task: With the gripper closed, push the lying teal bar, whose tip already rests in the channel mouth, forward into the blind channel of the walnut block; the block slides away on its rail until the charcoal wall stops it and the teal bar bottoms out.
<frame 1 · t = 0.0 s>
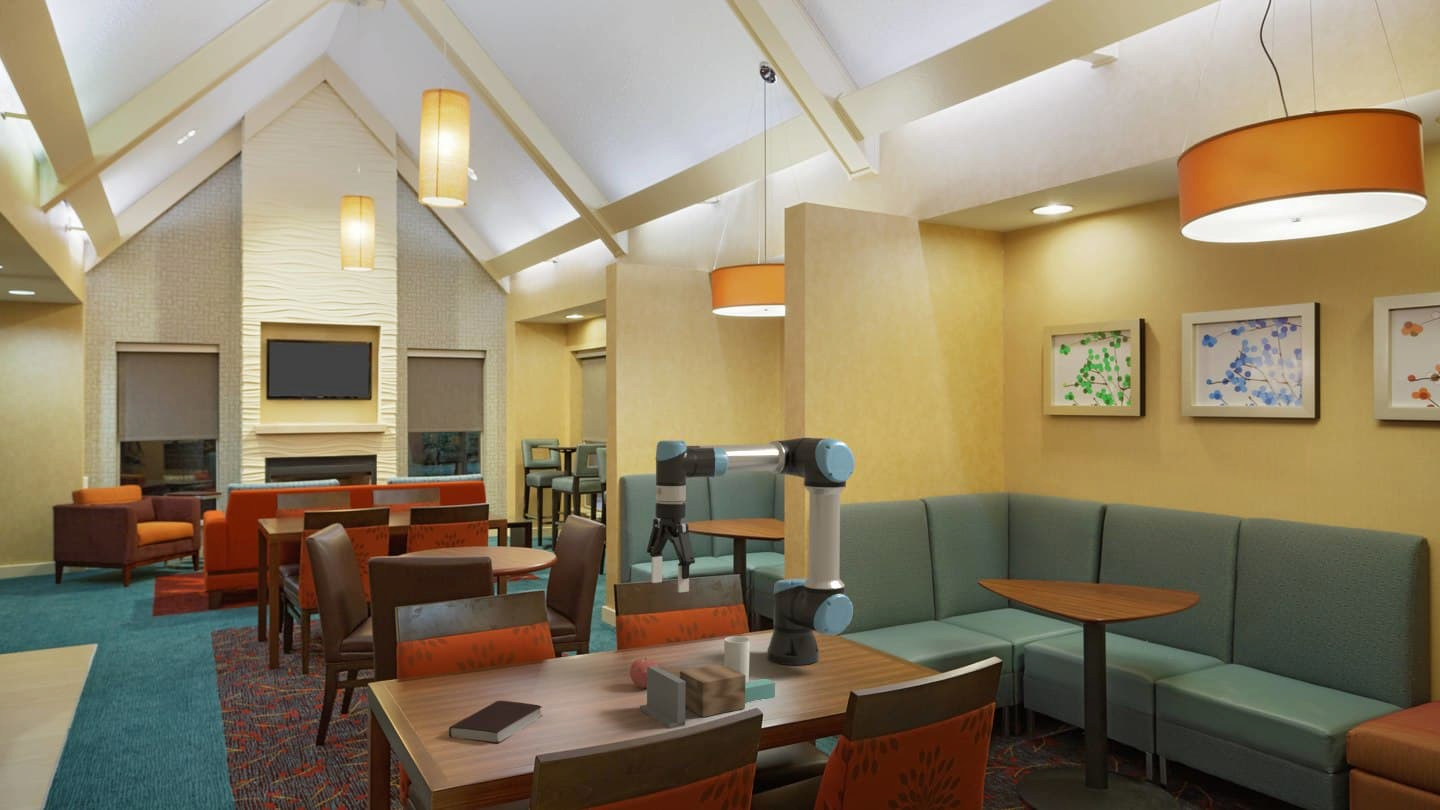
hand: (669, 587, 225), 28 cm above the table, fingers open, 13 cm apart
mug: (733, 683, 238), on the table
block: (712, 689, 219), point 4 cm above the table, slide at 0.0 cm
teal bar: (747, 700, 225), on the table
wall: (665, 716, 212), on the table
apple: (644, 688, 234), on the table
book: (497, 729, 205), on the table
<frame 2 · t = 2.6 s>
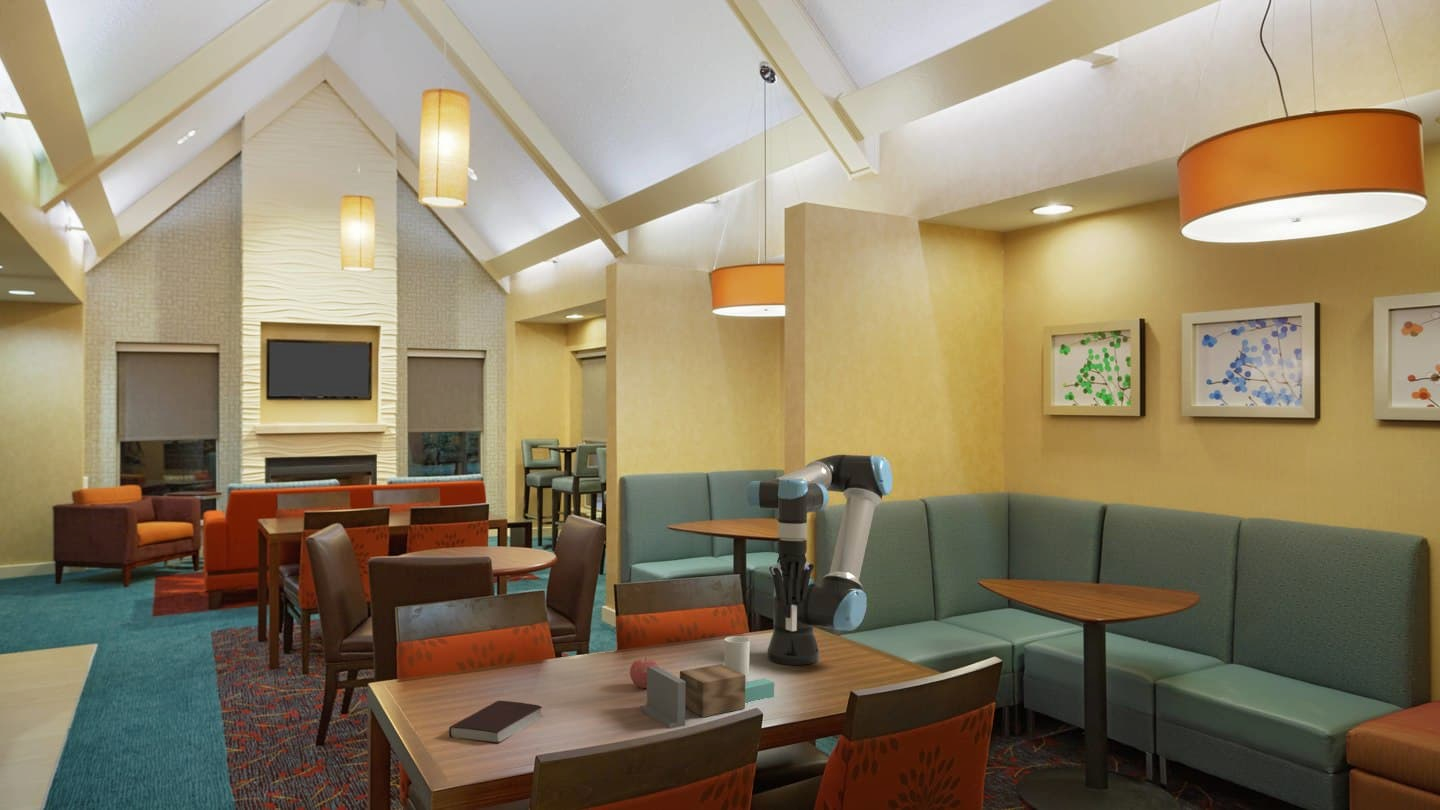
hand: (791, 629, 232), 16 cm above the table, fingers closed
nothing on the table moved.
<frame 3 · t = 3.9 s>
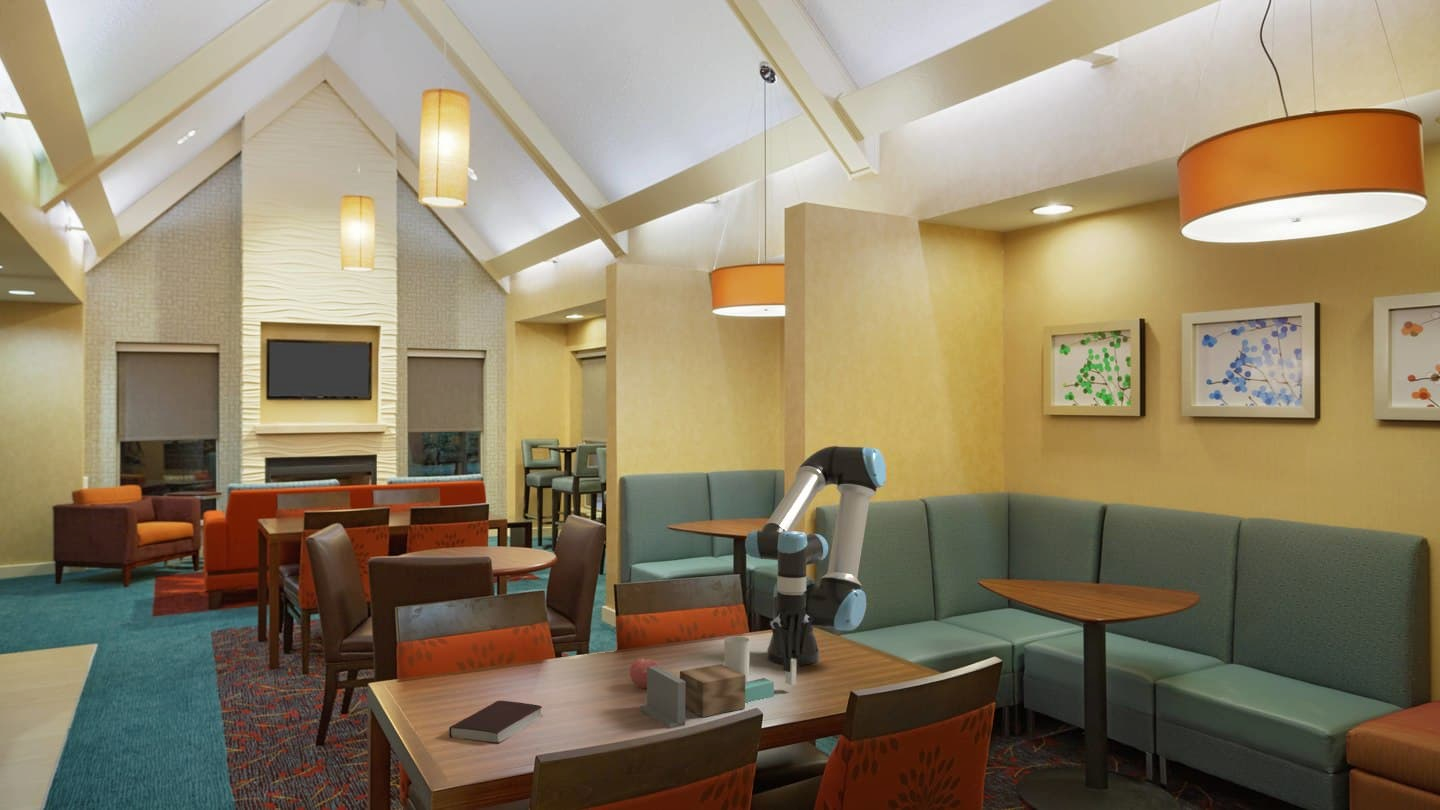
hand: (790, 683, 232), 2 cm above the table, fingers closed
nothing on the table moved.
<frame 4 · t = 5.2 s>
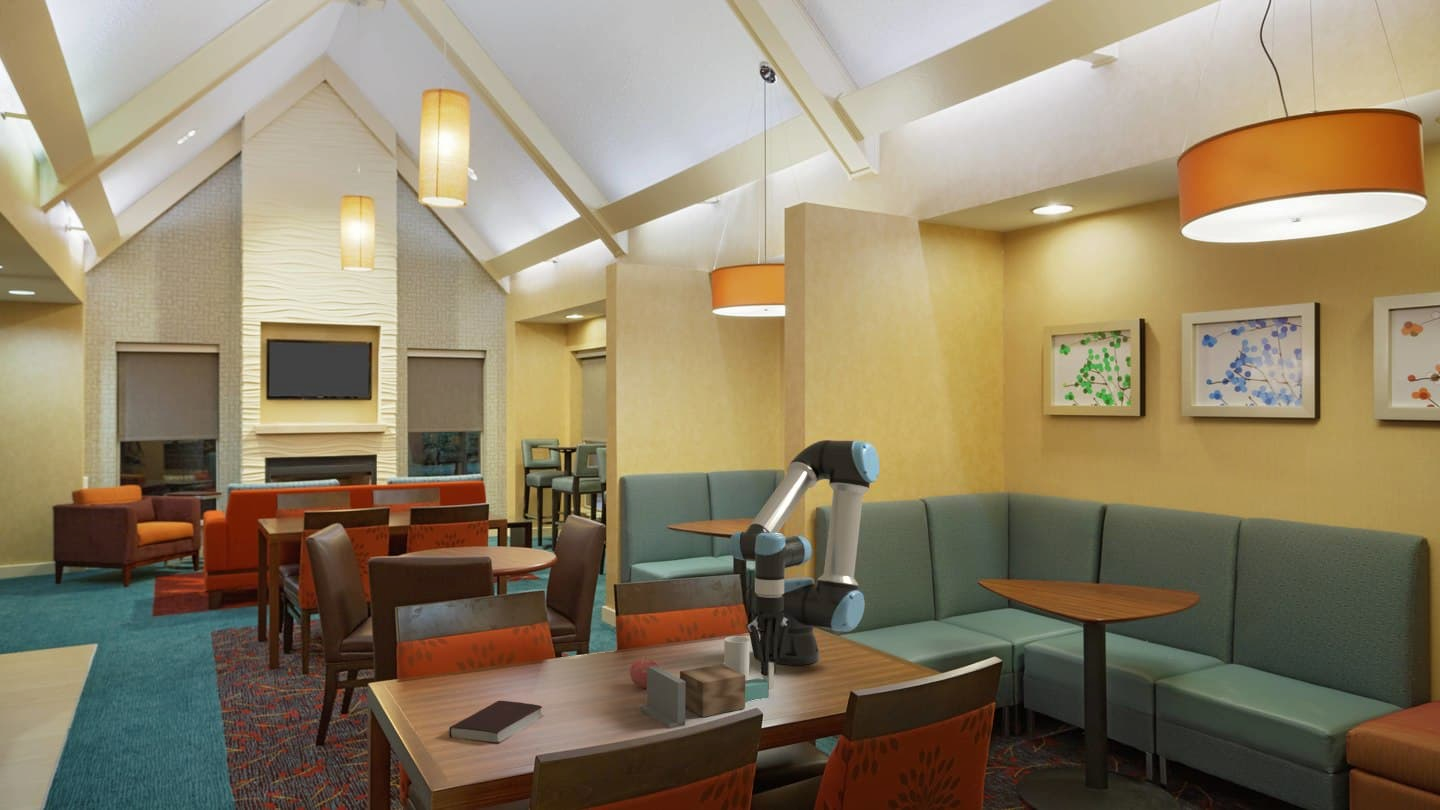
hand: (768, 687, 228), 2 cm above the table, fingers closed
teal bar: (741, 700, 225), on the table, touching gripper
everything else where it was.
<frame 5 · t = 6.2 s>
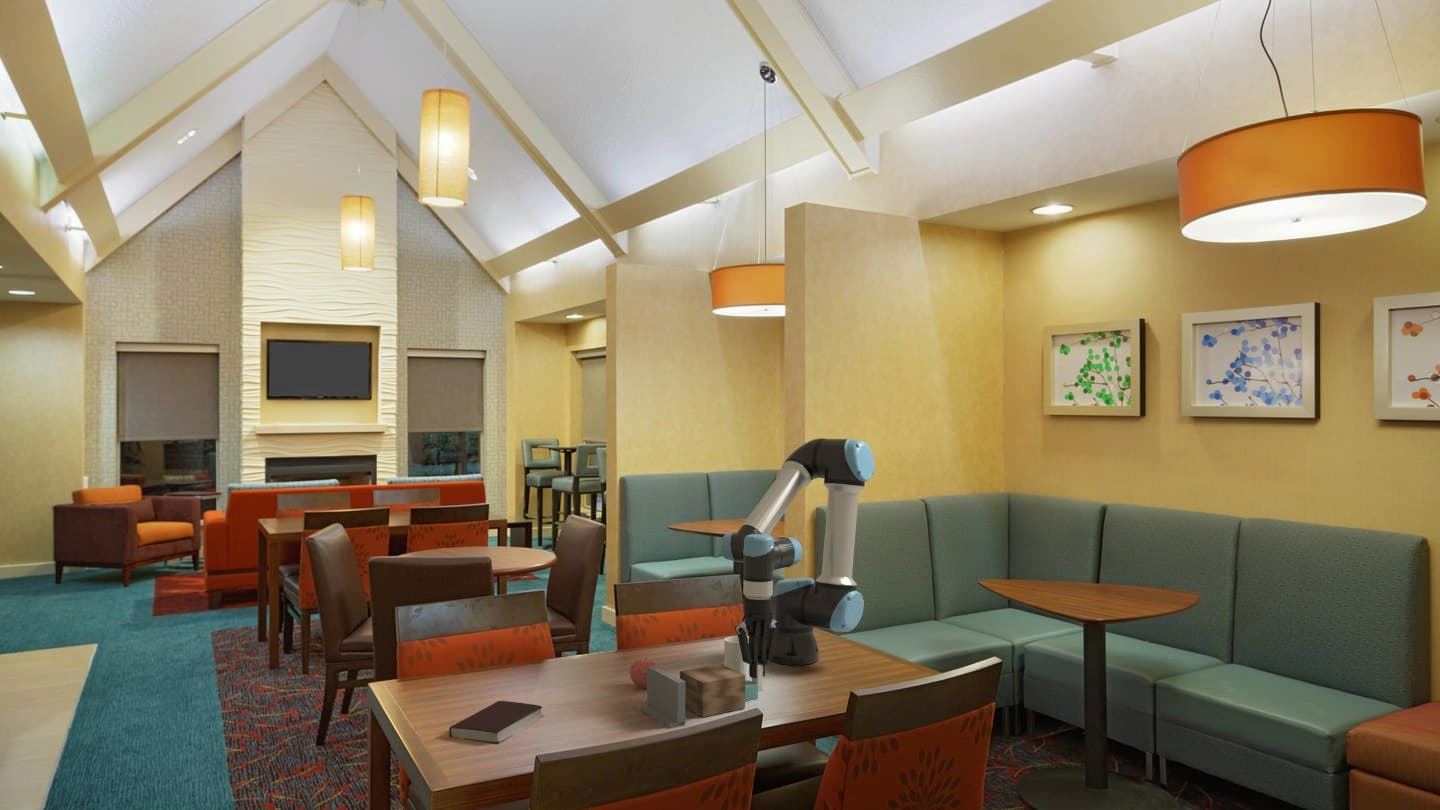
hand: (757, 689, 226), 2 cm above the table, fingers closed
teal bar: (730, 702, 223), on the table, touching gripper
everything else where it was.
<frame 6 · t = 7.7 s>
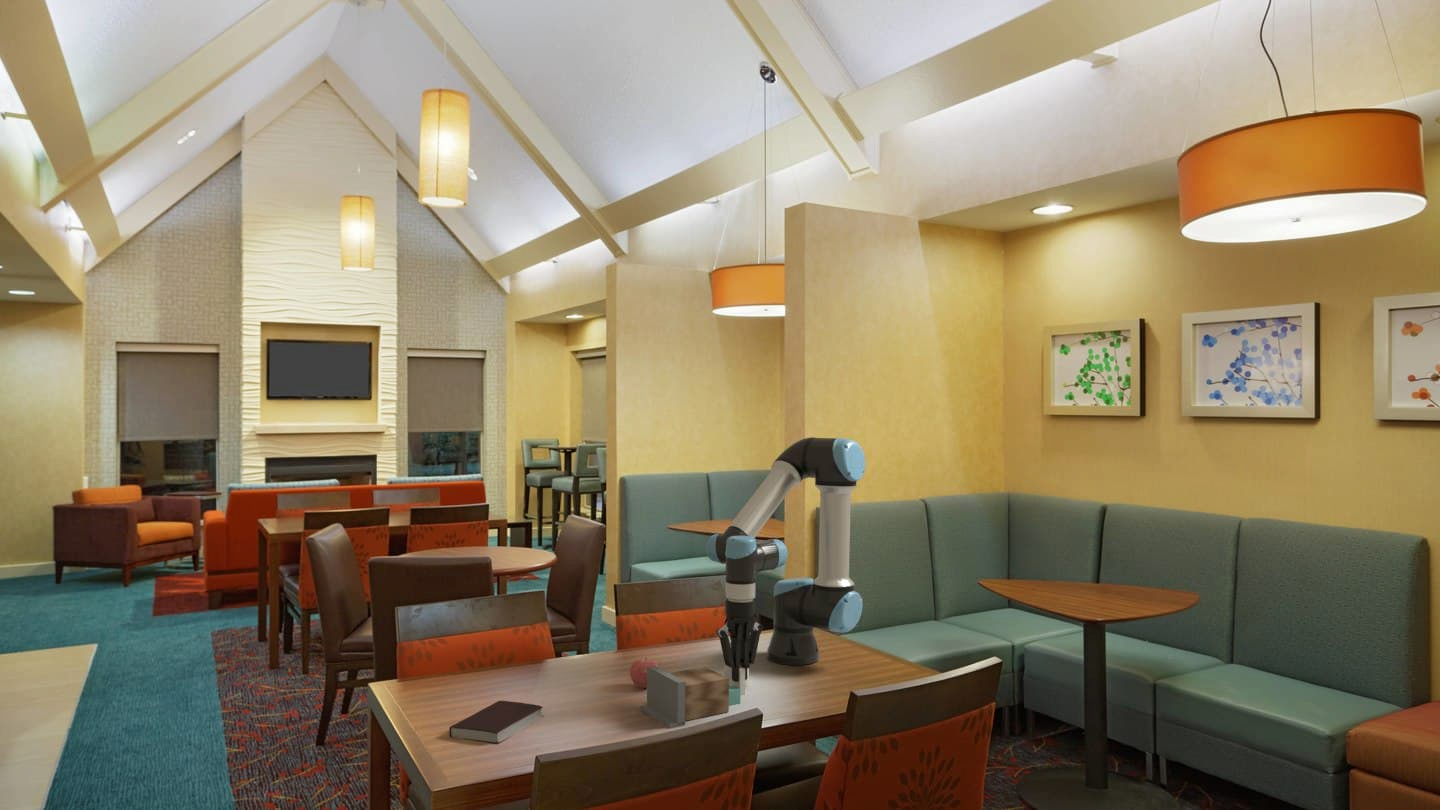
hand: (739, 693, 224), 2 cm above the table, fingers closed
block: (695, 692, 217), point 4 cm above the table, slide at 4.7 cm
teal bar: (711, 707, 220), on the table
everything else where it was.
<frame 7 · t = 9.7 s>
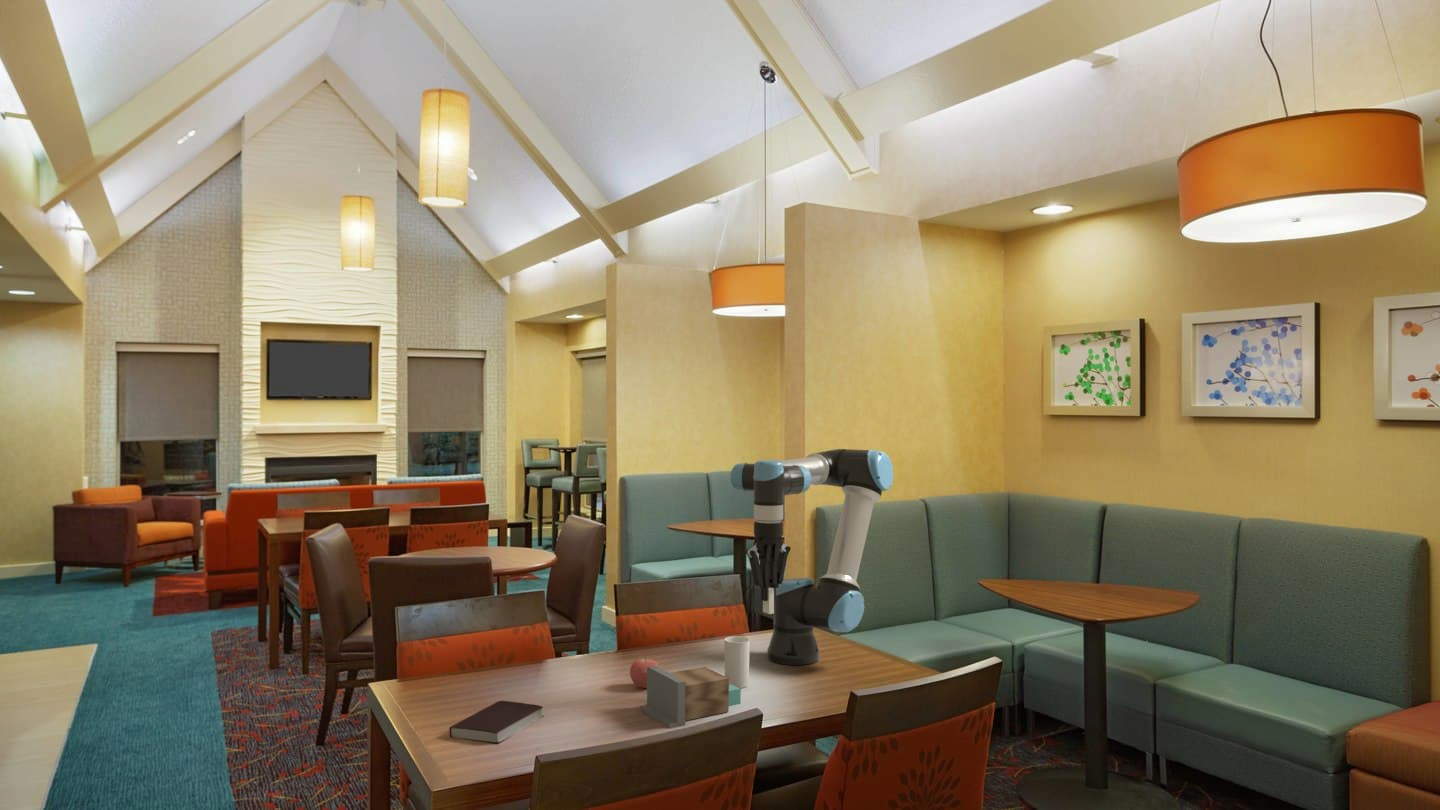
hand: (768, 612, 230), 21 cm above the table, fingers closed
nothing on the table moved.
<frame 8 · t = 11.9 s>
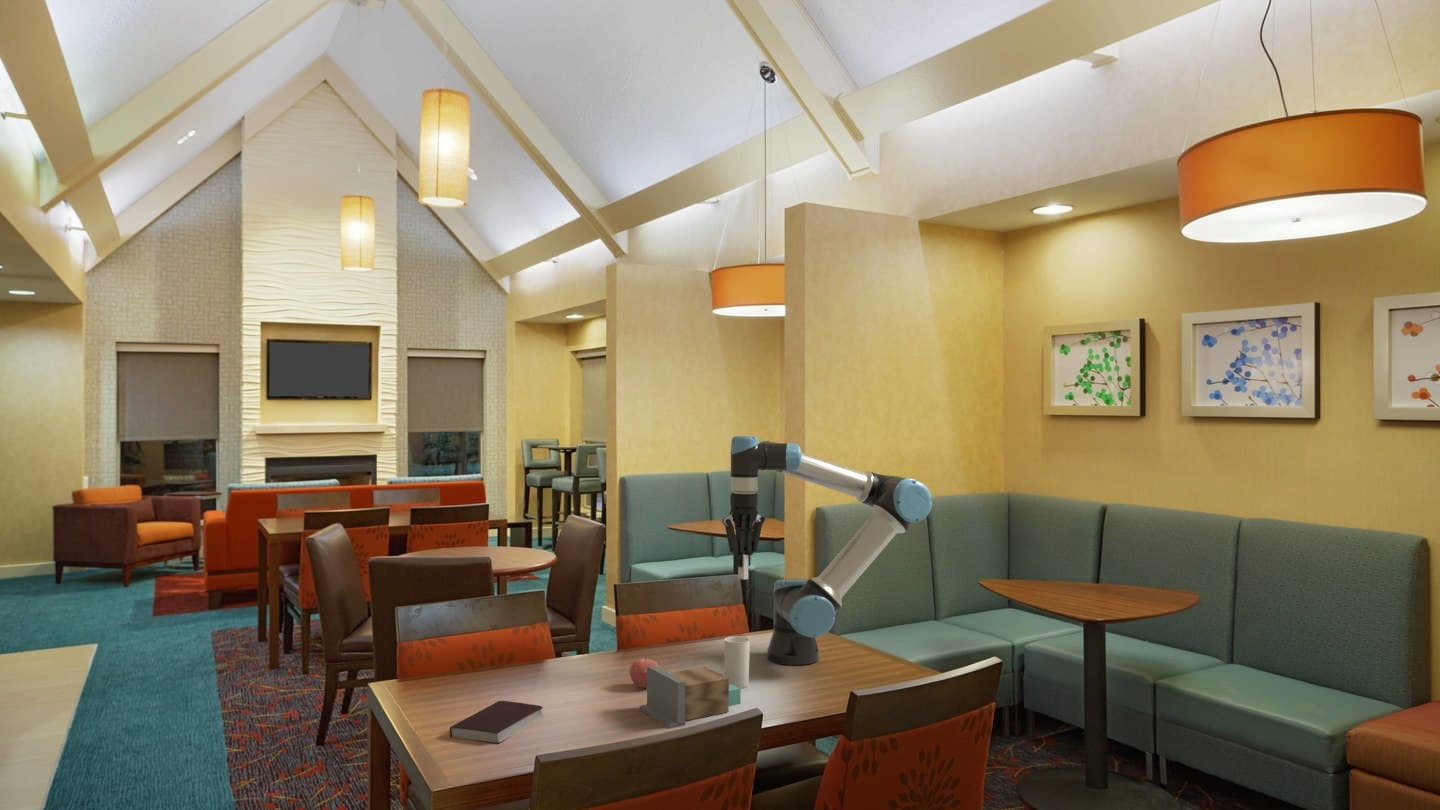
hand: (743, 578, 246), 26 cm above the table, fingers closed
nothing on the table moved.
at the end: block slide at 4.8 cm; teal bar 1.0 cm from the target spot on the block, point 0.0 cm above the block's base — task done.
